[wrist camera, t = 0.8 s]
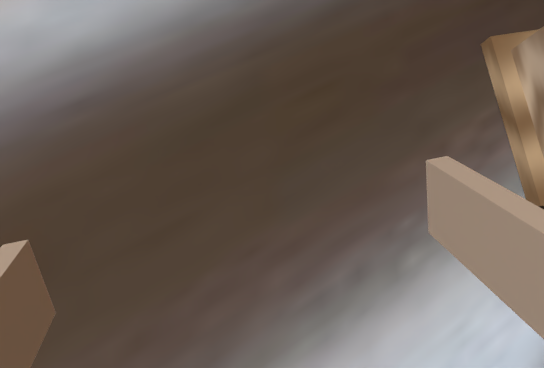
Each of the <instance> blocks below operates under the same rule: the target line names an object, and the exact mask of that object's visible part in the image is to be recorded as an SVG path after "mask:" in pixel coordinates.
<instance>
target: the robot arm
mask: <svg viewBox="0 0 544 368" xmlns="http://www.w3.org/2000/svg"><path fill="white" fill-rule="evenodd" d="M426 174H427V202H428V230H429V233H430V234H431V235H432V236H433V237H434V238H435V239H436V240H437V241H438V242H439V243H440V244H441V245H443V246H444V247H445V248H446V249H447V250H448V251H449V252H450V253H451V254H452V255H453V256H454V257H456V258H457V259H458V260H459V261H460V262H461V263H462V264H463V265H464V266H465V267H466V268H467V269H468V270H470V271H471V272H472V273H473V274H474V275H475V276H476V277H477V278H478V279H479V280H480V281H481V282H483V283H484V284H485V285H486V286H487V287H488V288H489V289H490V290H491V291H492V292H493V293H494V294H495V295H497V296H498V297H499V298H500V299H501V300H502V301H503V302H504V303H505V304H506V305H507V306H508V307H510V308H511V309H512V310H513V311H514V312H515V313H516V314H517V315H518V316H519V317H520V318H521V319H522V320H524V321H525V322H526V323H527V324H528V325H529V326H530V327H531V328H532V329H533V330H534V331H535V332H537V333H538V334H539V335H540V336H541V337H542V338H543V339H544V206H536V205H535V204H533V203H531V202H529V201H527V200H526V199H524V198H522V197H520V196H518V195H517V194H515V193H513V192H511V191H509V190H508V189H506V188H504V187H502V186H500V185H499V184H497V183H495V182H493V181H491V180H490V179H488V178H486V177H484V176H482V175H481V174H479V173H477V172H475V171H473V170H472V169H470V168H468V167H466V166H464V165H463V164H461V163H459V162H457V161H455V160H454V159H452V158H450V157H448V156H445V157H440V158H435V159H430V160H426ZM55 313H56V312H55V310H54V307H53V304H52V302H51V299H50V296H49V294H48V291H47V289H46V286H45V283H44V281H43V278H42V275H41V273H40V270H39V267H38V265H37V262H36V259H35V257H34V254H33V251H32V249H31V246H30V243H29V241H28V240H25V241H20V242H15V243H10V244H5V245H2V246H1V248H0V368H30V367H31V365H32V363H33V361H34V358H35V356H36V354H37V352H38V350H39V348H40V346H41V343H42V341H43V339H44V337H45V335H46V333H47V330H48V328H49V326H50V324H51V322H52V320H53V317H54V315H55Z"/></svg>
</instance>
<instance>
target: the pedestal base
mask: <svg viewBox="0 0 544 368" xmlns="http://www.w3.org/2000/svg"><path fill="white" fill-rule="evenodd" d="M481 47H482V51H483V54H484V58H485V61H486V64H487V68H488V71H489V75H490V78H491V81H492V85H493V88H494V92H495V95H496V98H497V102H498V105H499V109H500V112H501V115H502V119H503V122H504V126H505V129H506V132H507V136H508V139H509V143H510V146H511V149H512V153H513V156H514V160H515V163H516V166H517V170H518V173H519V177H520V180H521V183H522V187H523V190H524V194H525V197H526V200H527V201H529V202H531V203H533V204H535V205H536V206H544V27H542V28H541V29H539V30H533V31H525V32H518V33H511V34H504V35H497V36H490V37H489V38H488V39H487V40H486V41H484V42H483V43H482V44H481Z"/></svg>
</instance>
